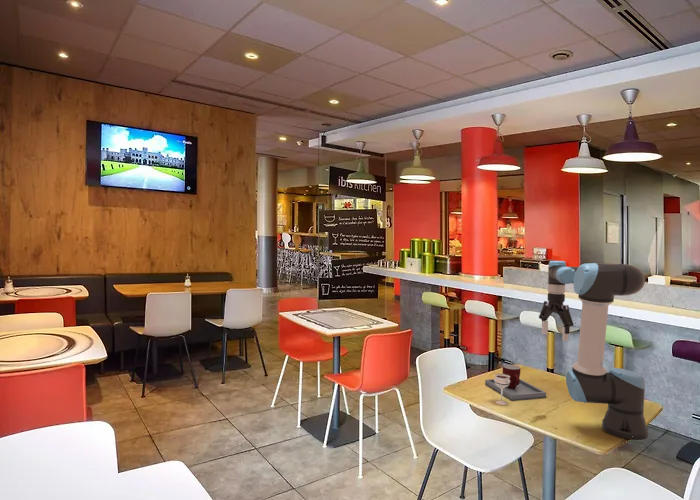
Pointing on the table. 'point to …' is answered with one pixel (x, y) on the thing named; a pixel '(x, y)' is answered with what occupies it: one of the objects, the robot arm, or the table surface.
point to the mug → (512, 375)
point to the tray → (518, 391)
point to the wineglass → (502, 384)
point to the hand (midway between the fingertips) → (554, 337)
